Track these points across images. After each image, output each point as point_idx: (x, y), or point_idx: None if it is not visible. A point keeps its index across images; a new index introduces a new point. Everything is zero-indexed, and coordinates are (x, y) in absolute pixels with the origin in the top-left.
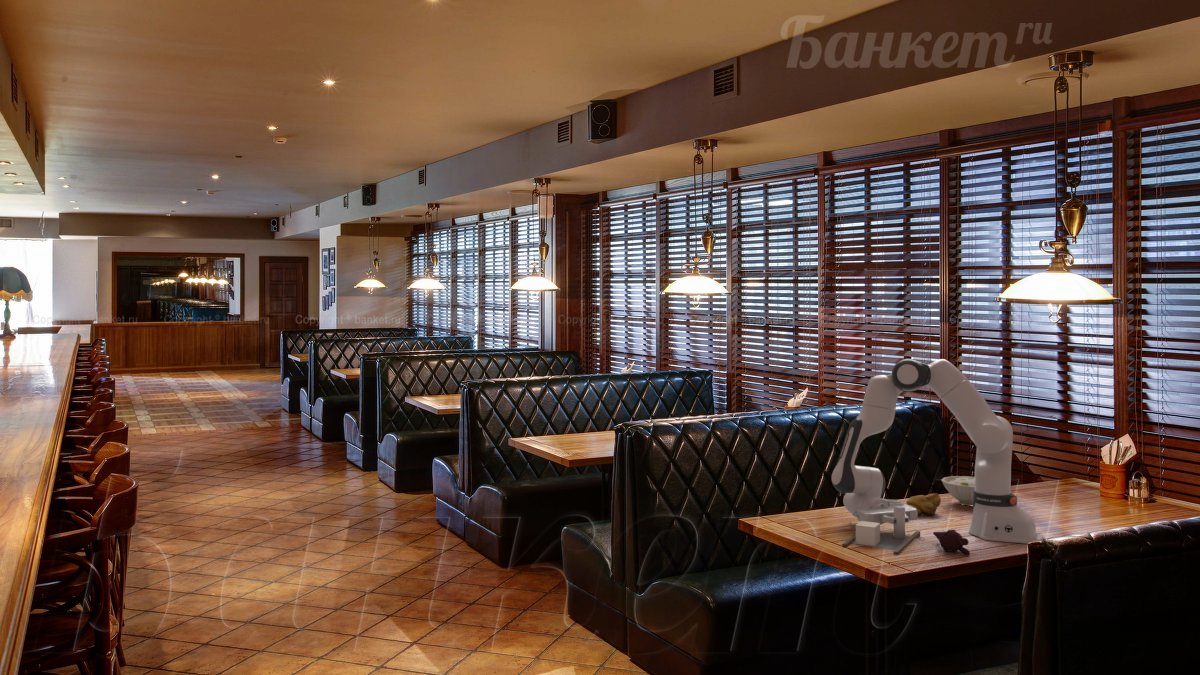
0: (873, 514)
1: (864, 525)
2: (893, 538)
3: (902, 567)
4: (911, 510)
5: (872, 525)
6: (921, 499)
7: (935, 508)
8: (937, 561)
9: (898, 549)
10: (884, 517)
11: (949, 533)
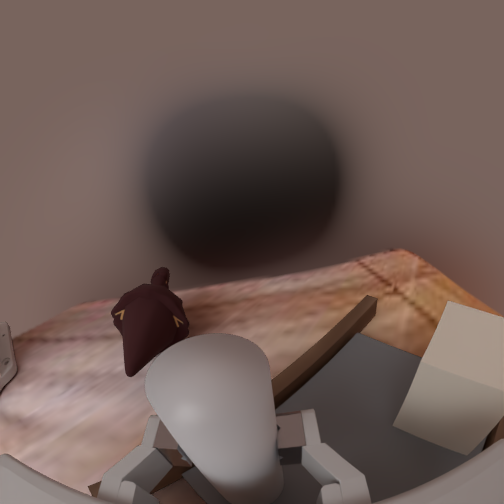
0: (460, 465)
1: (491, 320)
2: (293, 475)
3: (370, 272)
4: (28, 468)
5: (459, 323)
6: None
7: None
8: (268, 294)
9: (357, 310)
10: (354, 471)
11: (160, 287)
